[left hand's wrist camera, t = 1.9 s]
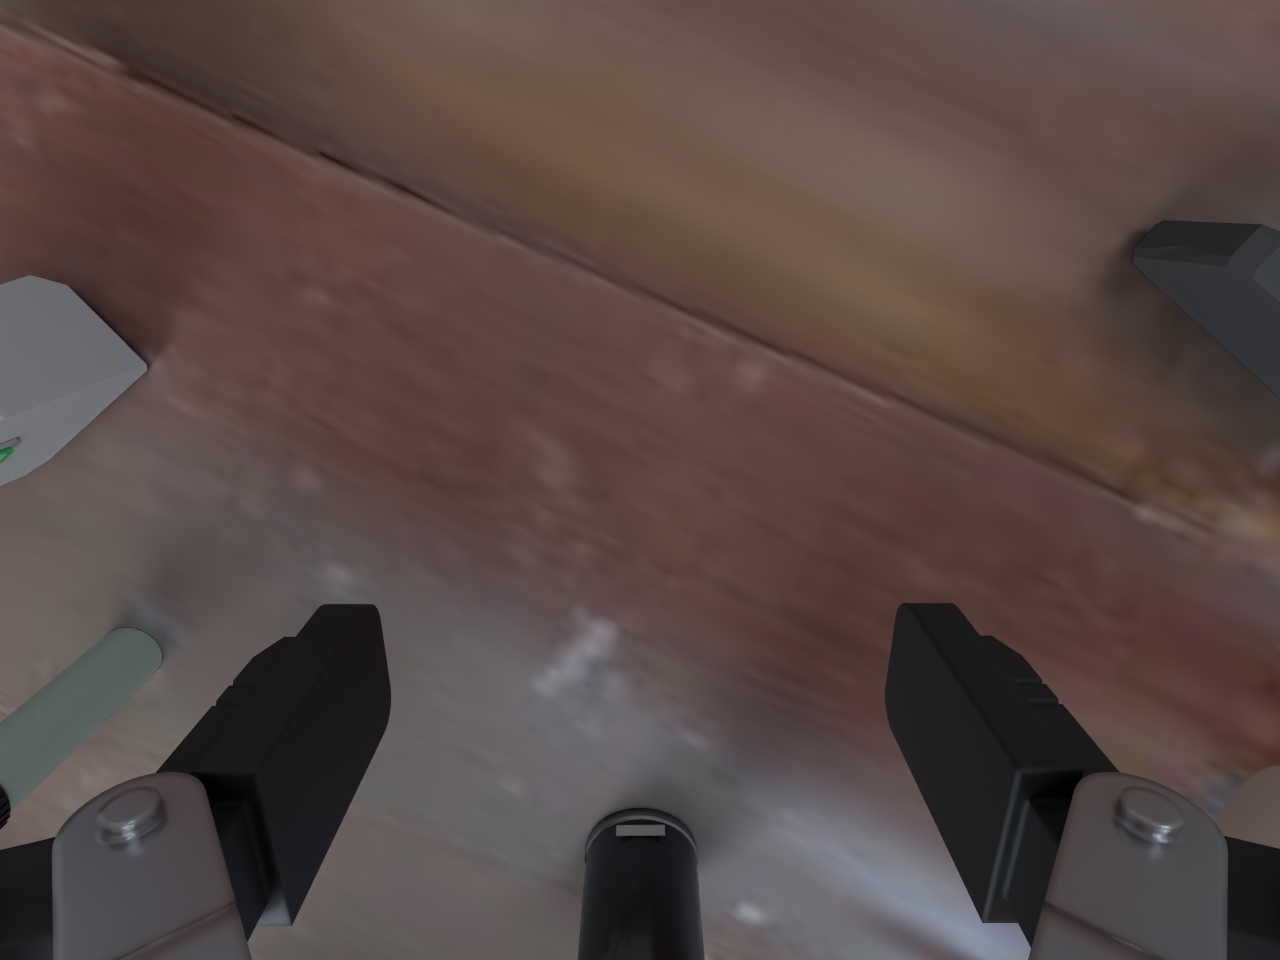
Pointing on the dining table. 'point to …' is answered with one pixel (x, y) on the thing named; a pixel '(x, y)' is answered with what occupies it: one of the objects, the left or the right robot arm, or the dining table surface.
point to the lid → (4, 808)
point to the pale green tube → (72, 709)
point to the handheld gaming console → (1222, 285)
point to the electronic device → (53, 371)
